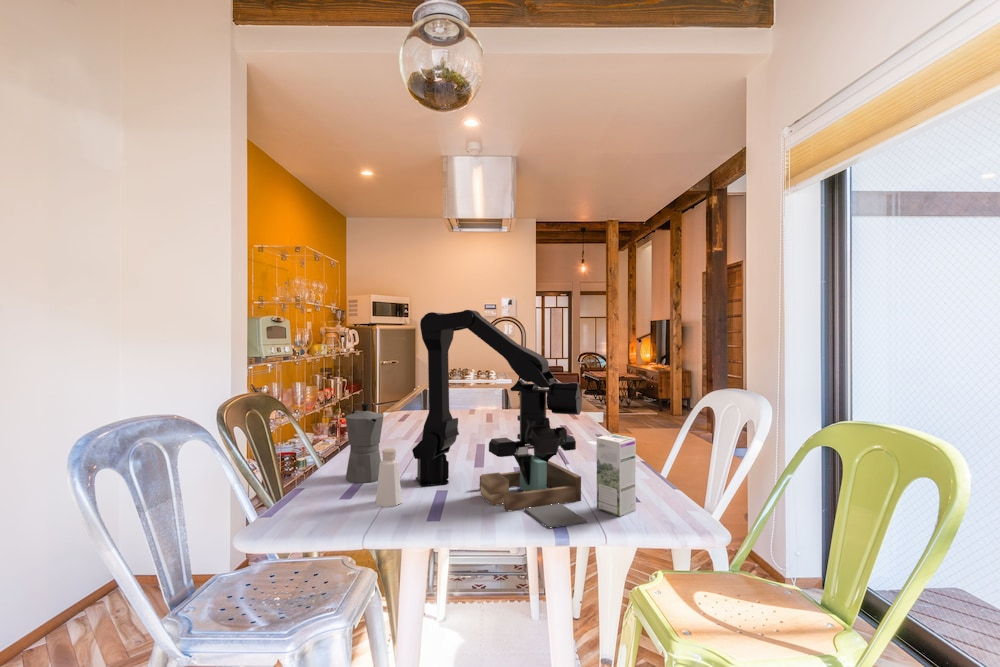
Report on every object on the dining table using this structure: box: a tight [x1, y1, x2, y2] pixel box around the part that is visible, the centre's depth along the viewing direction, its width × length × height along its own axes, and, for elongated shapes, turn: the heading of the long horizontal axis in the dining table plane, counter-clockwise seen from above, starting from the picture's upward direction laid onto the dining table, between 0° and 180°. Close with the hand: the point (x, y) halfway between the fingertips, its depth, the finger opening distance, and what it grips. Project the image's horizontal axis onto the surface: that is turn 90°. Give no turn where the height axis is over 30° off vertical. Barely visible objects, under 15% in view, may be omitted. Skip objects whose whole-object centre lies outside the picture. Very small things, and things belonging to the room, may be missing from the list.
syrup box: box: [596, 433, 637, 517], centre depth 99 cm, size 6×6×14 cm
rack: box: [479, 460, 582, 512], centre depth 108 cm, size 17×15×5 cm
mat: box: [524, 503, 588, 529], centre depth 95 cm, size 8×10×1 cm
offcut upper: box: [480, 472, 510, 495], centre depth 105 cm, size 4×6×2 cm, turn 18°
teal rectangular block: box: [519, 452, 548, 492], centre depth 108 cm, size 2×9×8 cm, turn 23°
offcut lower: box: [480, 486, 511, 506], centre depth 105 cm, size 4×7×2 cm, turn 21°
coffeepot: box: [345, 402, 384, 484], centre depth 121 cm, size 15×9×18 cm, turn 35°
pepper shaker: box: [375, 447, 403, 508], centre depth 102 cm, size 5×5×11 cm
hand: (532, 483), depth 108 cm, fingers closed on teal rectangular block, 2 cm apart
